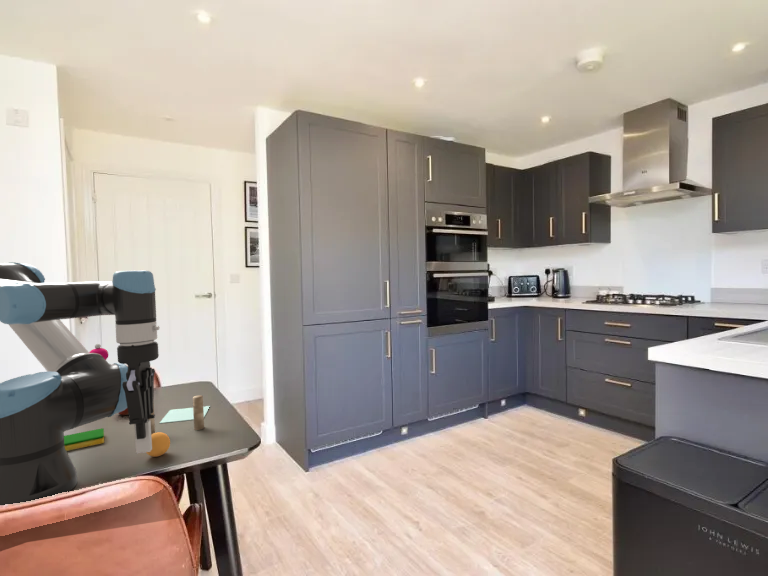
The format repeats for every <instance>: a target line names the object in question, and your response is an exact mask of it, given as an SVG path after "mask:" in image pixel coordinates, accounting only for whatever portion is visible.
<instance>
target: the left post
mask: <svg viewBox="0 0 768 576" xmlns="http://www.w3.org/2000/svg"><path fill="white" fill-rule="evenodd" d="M154 404H155V402H154V401H153V409H154V411H153V413H151V415H155V405H154ZM149 420H150V421H151V434H153V433H156V425H155V420H156V419H155V418H152V419H149Z"/></svg>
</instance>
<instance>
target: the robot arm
mask: <svg viewBox="0 0 768 576" xmlns="http://www.w3.org/2000/svg"><path fill="white" fill-rule="evenodd" d="M45 281H46V278H45V275H43V272H42V271H41V270H40V269H39V268H38V267H36V266H35V265H32V264H28V263H23V262H22V263H20V262H13V261H12V262H3V263H2V262H0V323H2V324H4V325H8V326H9V328H11V330H12V331H13V332H14V333H15V334H16V335H17V337H18V338H19V340H21V342H22V343H23V344H24V345H25V346H26V348H27V349H28V350H29V352H31V354H32V356H34V357H35V358H36V360H37V361H38V363H40V365H41V366H42V367H43V368H44V369H45V371H40V372H35V373H33V374H32V373H30V374H29V373H28V374H25V375H21V376H17V377H13V378H10V379H6V380H4V381H1V382H0V505H5V504H13V503H20V502H26V501H31V500H35V499H39V498H43V497H47V496H52V495H55V494H58V493H62V492H67V491H69V492H71V490H73V489H74V488H75V487H76V486H77V484H78V474H77V470H76V467H75V465H74V464H73V461H72V459H71V458H70V455H69V453H68V451H66V450H65V446H64V436H65V434H64V433H65V432H67V431H70V430H73V429H75V428H78V427H81V426H84V425H87V424H91V423H93V422H96V421H100V420H102V419H105V418H111V417H113V416H114V415H116V414H119V412H122V411H124V410H125V409H126V408H128V419H129V422H128V424H129V425H134V426H133V427H134V428H133V429H134V441H135V454H142V453H146V452H150V451H151V450H152V438H151V421H150V420H149V419H152V418H154V419H155V417H156V414H154V415H151V413H153V411H154V412H155V408H154V409H153V401H154V397H155V396H154V393H155V392H154V389H155V388H154V387H155V383H154V382H155V379H154V378H155V372H156V369H155V368H152V367H151V362H152V361H155V360H157V359H158V358H159V355H160V354H159V343H158V342H157V341H155V340H157V339H158V331H159V330H160V325H157V302H156V301H157V300H156V290H157V289H156V286H155V285H156V284H155V279H154V274H153V273H152V271H150V270H143V269H142V270H117V271H115V272H113V274H112V280H106V281H105V280H104V281H103V280H102V281H101V280H95V281H93V280H92V281H75V282H74V281H73V282H68V281H67V282H66V281H65V282H45ZM97 316H100V317H101V316H114V319H115V339H116V340H115V341H116V343H117V344H119V345H117V348H116V350H117V351H116V352H117V353H116V354H117V362H114V363H112V364H111V363H109V362H108V361H107V359H106V360H105V359H104V358H103V357H102V356H101V355H100V354H97V353H89V352H90V351H88V350H87V349H86V347H84V345H83V344H82V343H81V342H80V340H79V339H78V338H77V337H76V335H74V334H73V332H72V331H71V330H70V329H69V328H68V327H67V326H66V325H65V323H63V321H62V320H68V319H79V318H89V317H97Z"/></svg>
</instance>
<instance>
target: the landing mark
mask: <svg viewBox="0 0 768 576" xmlns="http://www.w3.org/2000/svg"><path fill="white" fill-rule="evenodd" d="M209 407H210V408H211V405H206V406H204V405H203V411H204V418H205V417H206V415H207V413H208V411H209V410H208V409H210V408H209ZM187 421H194V415H193V407H187V408H186V407H185V408H177V409H176V408H175V409H169V410H168V412H167V413H166V414H165V415H164V417H162V419H161V420H160V421H159V424H166V423H177V422H187Z"/></svg>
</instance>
